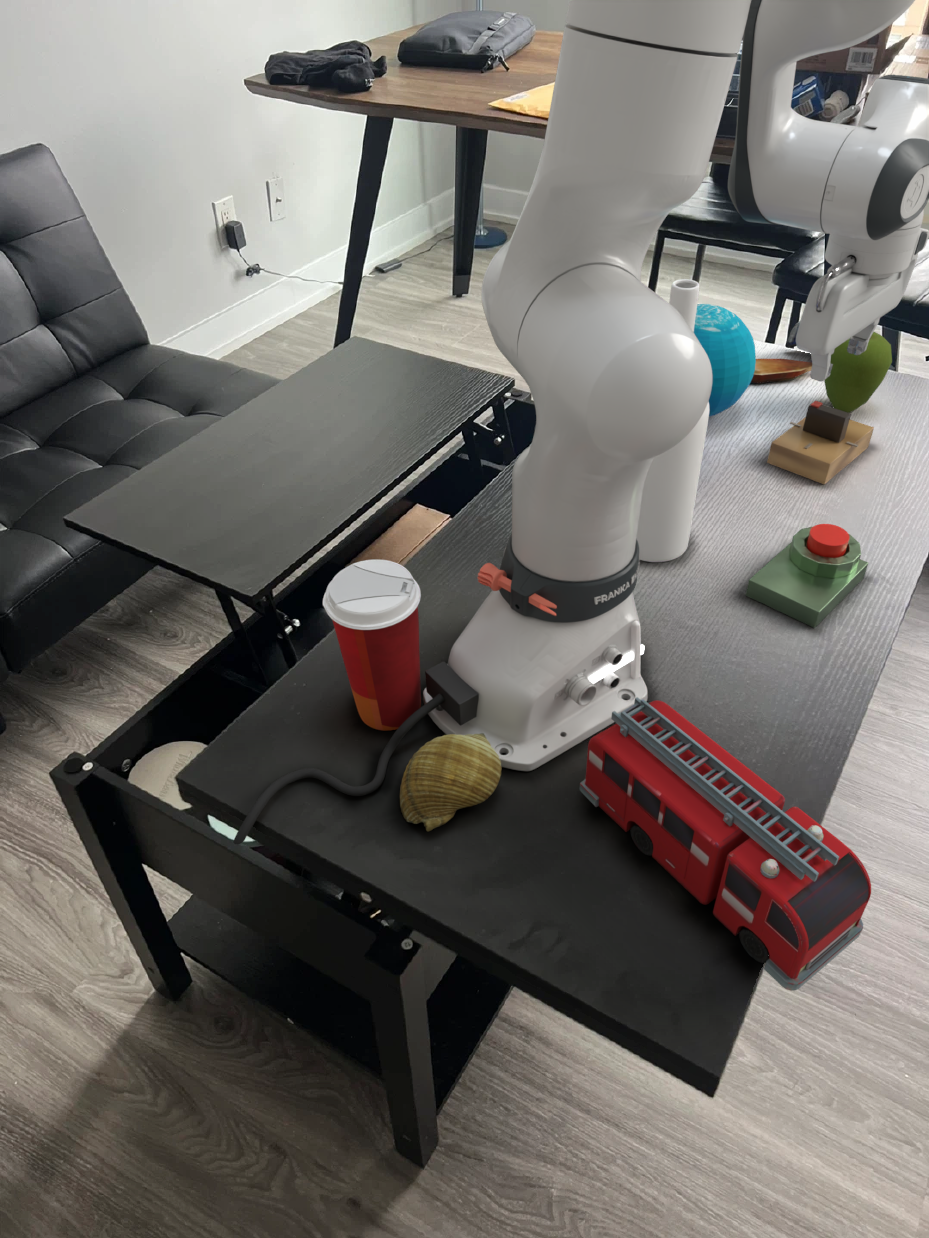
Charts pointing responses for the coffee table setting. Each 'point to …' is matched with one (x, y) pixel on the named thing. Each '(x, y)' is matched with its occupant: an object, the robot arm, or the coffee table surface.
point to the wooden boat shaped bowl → (778, 370)
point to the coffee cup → (378, 639)
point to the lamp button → (827, 540)
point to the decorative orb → (725, 354)
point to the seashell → (448, 778)
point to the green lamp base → (807, 580)
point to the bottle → (673, 470)
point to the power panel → (818, 451)
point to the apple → (857, 373)
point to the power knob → (826, 421)
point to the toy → (729, 840)
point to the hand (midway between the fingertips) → (837, 365)
